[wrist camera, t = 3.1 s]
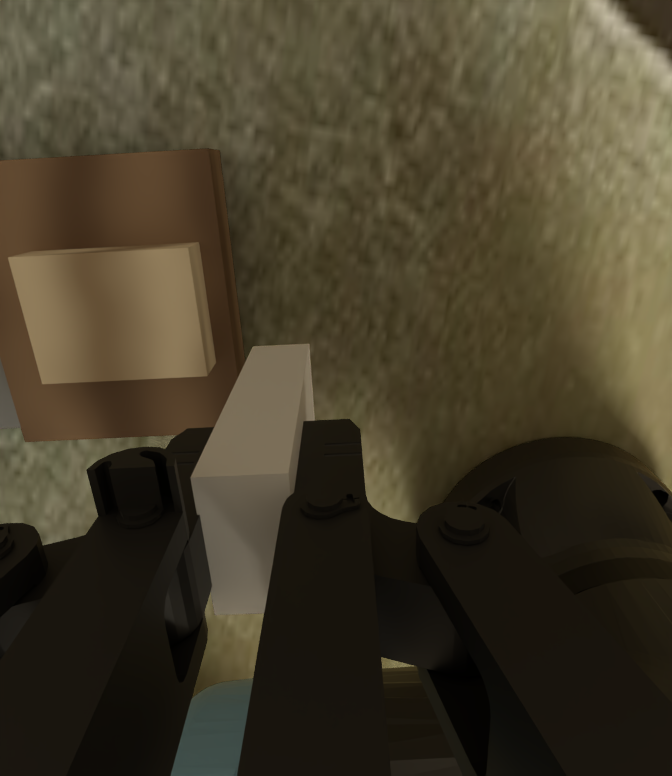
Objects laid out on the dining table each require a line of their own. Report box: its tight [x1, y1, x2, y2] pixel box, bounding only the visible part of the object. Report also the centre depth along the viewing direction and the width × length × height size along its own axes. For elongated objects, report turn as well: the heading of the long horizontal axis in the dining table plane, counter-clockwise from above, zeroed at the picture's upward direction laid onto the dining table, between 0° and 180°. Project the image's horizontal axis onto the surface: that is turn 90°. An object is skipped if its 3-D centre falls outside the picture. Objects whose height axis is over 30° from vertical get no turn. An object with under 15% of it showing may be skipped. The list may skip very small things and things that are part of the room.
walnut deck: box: [0, 148, 245, 442], centre depth 28 cm, size 12×14×2 cm
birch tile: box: [8, 242, 216, 384], centre depth 26 cm, size 8×6×2 cm
